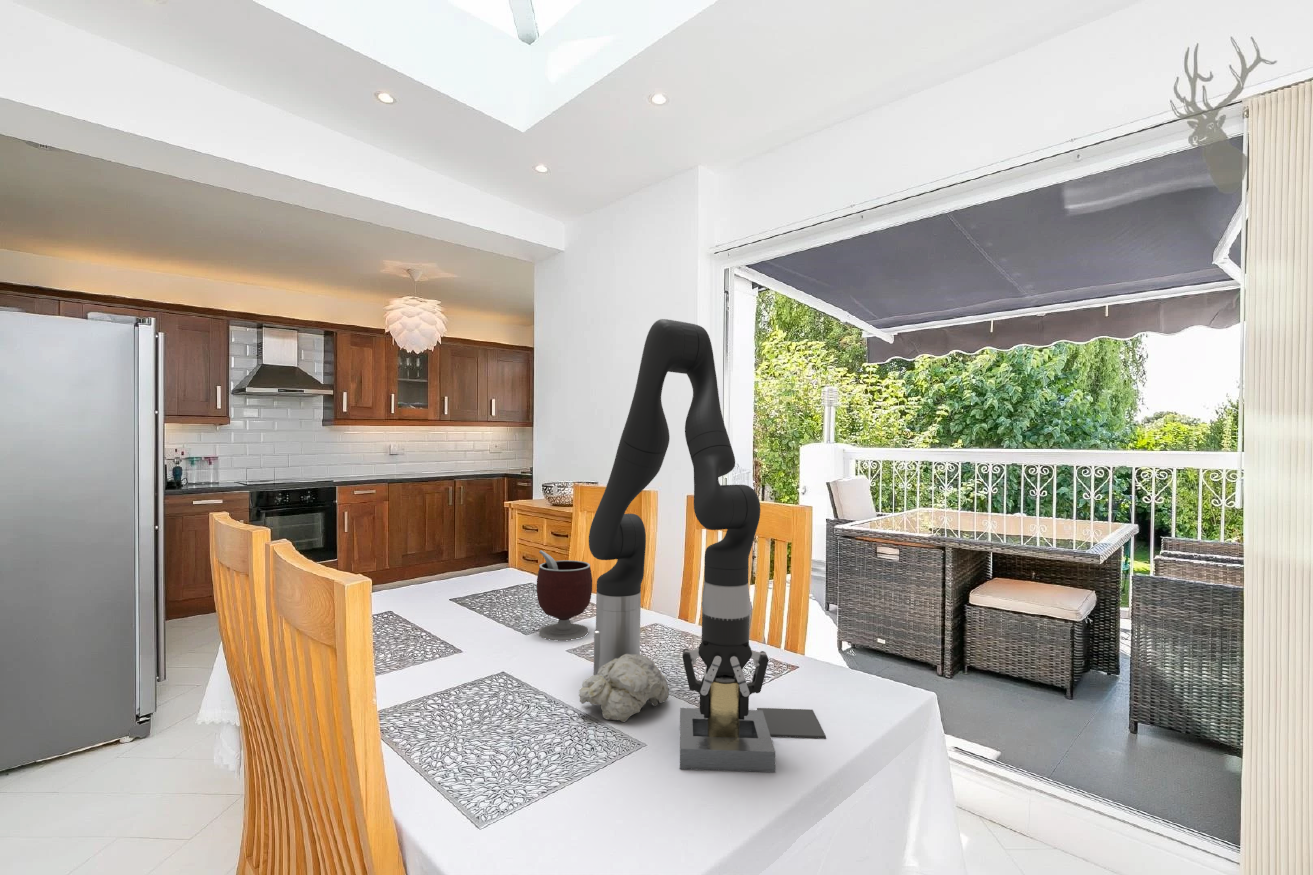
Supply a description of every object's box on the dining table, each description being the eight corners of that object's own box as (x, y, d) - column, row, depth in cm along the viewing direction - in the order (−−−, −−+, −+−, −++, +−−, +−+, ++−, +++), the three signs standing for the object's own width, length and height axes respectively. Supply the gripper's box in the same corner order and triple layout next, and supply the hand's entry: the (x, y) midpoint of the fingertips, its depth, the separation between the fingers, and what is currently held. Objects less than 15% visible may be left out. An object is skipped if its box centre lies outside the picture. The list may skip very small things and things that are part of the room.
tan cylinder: (708, 742, 94) (709, 680, 95) (706, 726, 99) (708, 668, 100) (740, 743, 94) (741, 681, 94) (737, 728, 99) (738, 669, 99)
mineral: (568, 686, 114) (573, 648, 109) (653, 669, 120) (661, 633, 116) (585, 745, 104) (591, 705, 99) (677, 723, 111) (686, 685, 106)
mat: (764, 736, 100) (764, 733, 100) (757, 709, 110) (757, 707, 110) (825, 738, 100) (825, 735, 100) (812, 711, 110) (812, 709, 110)
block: (679, 768, 90) (680, 748, 90) (679, 725, 104) (680, 707, 104) (775, 772, 89) (775, 751, 89) (762, 727, 103) (762, 710, 103)
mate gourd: (602, 630, 156) (603, 552, 156) (566, 645, 144) (568, 561, 144) (556, 620, 164) (558, 546, 164) (519, 633, 152) (520, 553, 153)
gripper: (680, 615, 94) (678, 726, 93) (774, 618, 93) (772, 729, 93) (680, 602, 101) (678, 705, 101) (767, 604, 100) (765, 708, 100)
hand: (723, 716), depth 97 cm, fingers closed on tan cylinder, 5 cm apart
